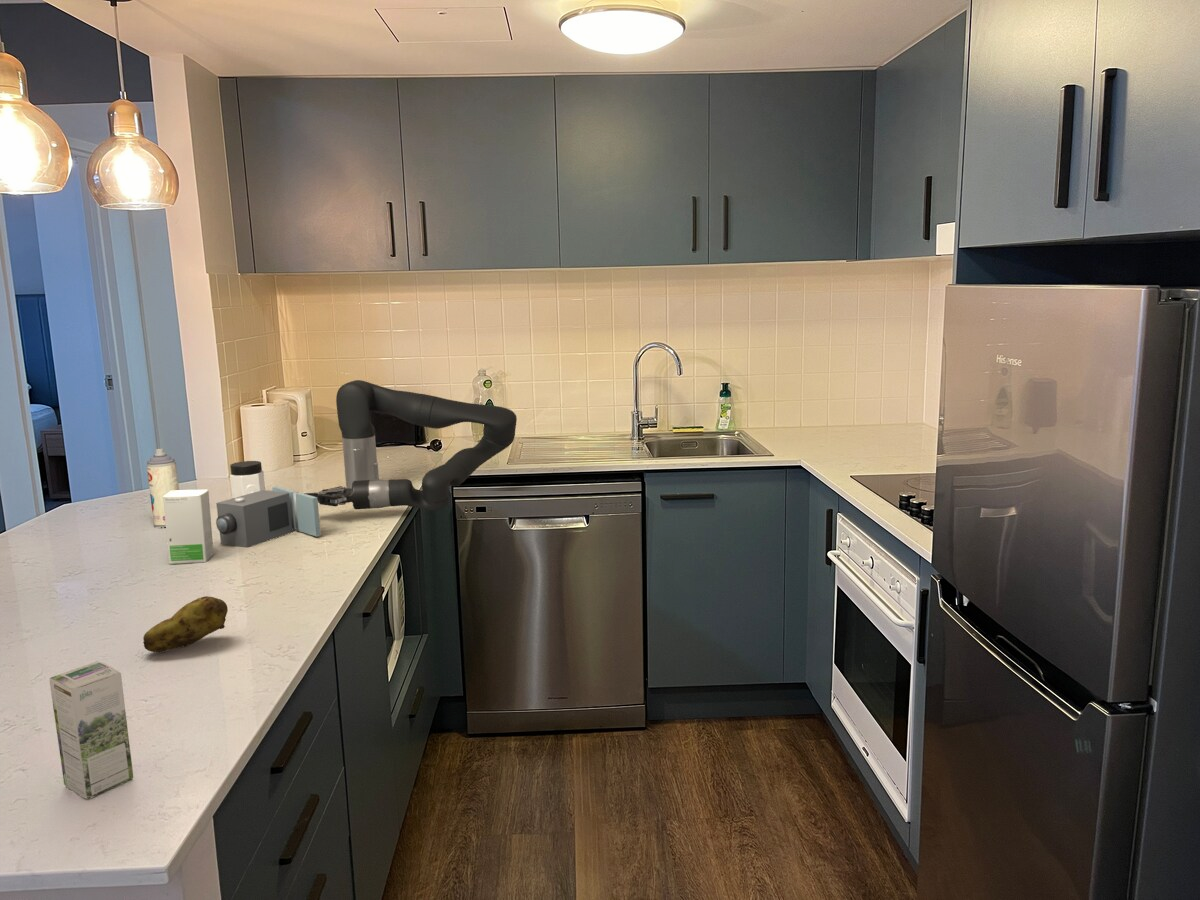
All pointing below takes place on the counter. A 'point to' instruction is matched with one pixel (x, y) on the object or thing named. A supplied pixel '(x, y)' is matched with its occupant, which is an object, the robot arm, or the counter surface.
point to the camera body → (254, 518)
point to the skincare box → (188, 526)
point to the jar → (246, 478)
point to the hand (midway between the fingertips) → (302, 498)
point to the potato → (187, 625)
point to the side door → (303, 511)
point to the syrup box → (91, 729)
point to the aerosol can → (161, 483)
